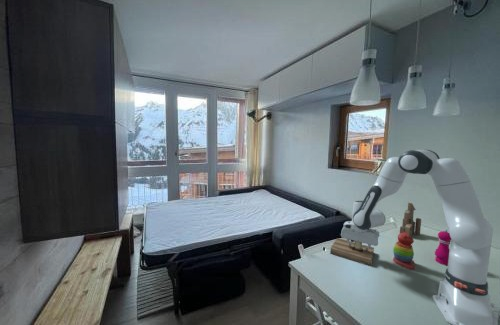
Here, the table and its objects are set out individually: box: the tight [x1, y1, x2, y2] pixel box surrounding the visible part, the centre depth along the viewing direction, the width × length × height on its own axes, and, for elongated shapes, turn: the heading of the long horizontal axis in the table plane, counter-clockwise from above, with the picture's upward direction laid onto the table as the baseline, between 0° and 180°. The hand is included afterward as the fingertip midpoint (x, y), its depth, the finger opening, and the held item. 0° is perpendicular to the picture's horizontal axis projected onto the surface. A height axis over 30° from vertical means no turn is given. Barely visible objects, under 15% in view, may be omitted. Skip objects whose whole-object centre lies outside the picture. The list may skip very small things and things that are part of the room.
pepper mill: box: [434, 228, 452, 266], centre depth 119 cm, size 7×7×20 cm
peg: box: [354, 240, 363, 252], centre depth 125 cm, size 4×4×10 cm
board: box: [329, 237, 375, 267], centre depth 127 cm, size 18×22×4 cm
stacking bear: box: [392, 232, 415, 270], centre depth 117 cm, size 11×10×18 cm
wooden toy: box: [399, 202, 422, 237], centre depth 157 cm, size 16×7×25 cm, turn 114°
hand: (358, 248), depth 125 cm, fingers open, 8 cm apart
